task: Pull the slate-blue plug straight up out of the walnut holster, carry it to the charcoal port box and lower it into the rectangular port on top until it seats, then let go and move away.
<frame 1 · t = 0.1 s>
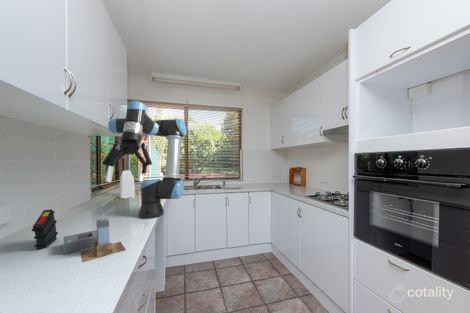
hand: (124, 181, 84), 28 cm above the countertop, tool tilted 20°, fingers open, 13 cm apart
holster: (103, 253, 81), on the countertop
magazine: (45, 246, 90), on the countertop
port box: (85, 247, 87), on the countertop
plug: (103, 250, 81), point 1 cm above the countertop, touching holster
milk: (127, 197, 201), on the countertop
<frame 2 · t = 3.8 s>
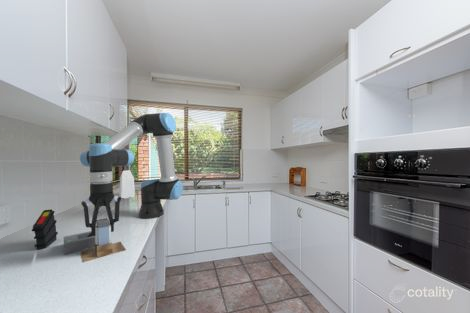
hand: (103, 241, 81), 5 cm above the countertop, tool pointing down, fingers closed on plug, 4 cm apart
plug: (103, 250, 81), point 1 cm above the countertop, touching gripper, holster
everything else where it was.
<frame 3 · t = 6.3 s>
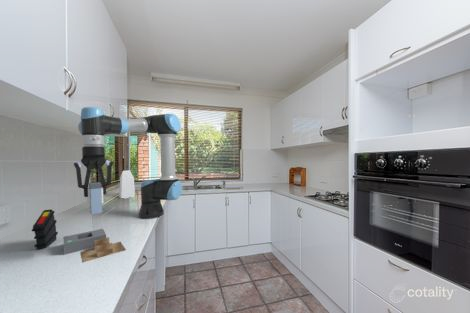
hand: (95, 203, 84), 19 cm above the countertop, tool pointing down, fingers closed on plug, 4 cm apart
plug: (95, 212, 84), point 16 cm above the countertop, touching gripper
everything else where it was.
when the fingers open (6 cm above the countertop, at t = 9.2 s): plug drops 1 cm, resting on port box.
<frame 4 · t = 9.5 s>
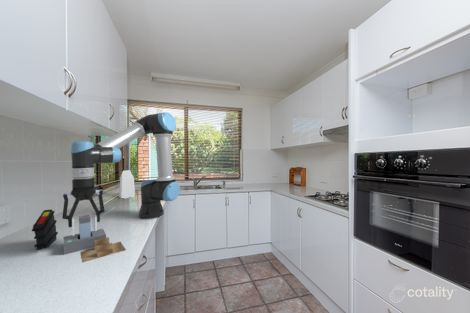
hand: (84, 232, 87), 7 cm above the countertop, tool pointing down, fingers open, 7 cm apart
plug: (85, 245, 87), point 1 cm above the countertop, touching port box
everything else where it was.
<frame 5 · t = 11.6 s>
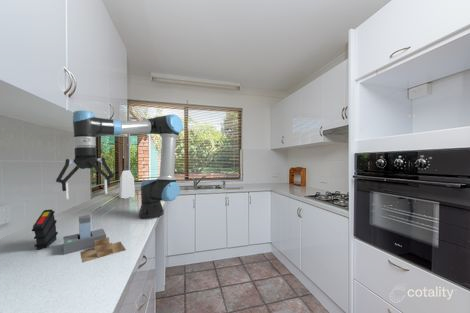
hand: (87, 196, 89), 21 cm above the countertop, tool pointing down, fingers open, 13 cm apart
nothing on the countertop moved.
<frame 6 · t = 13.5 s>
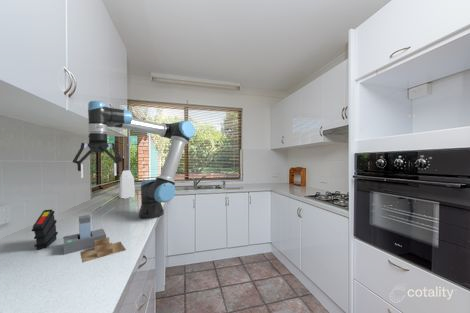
hand: (99, 176, 101), 29 cm above the countertop, tool pointing down, fingers open, 13 cm apart
nothing on the countertop moved.
at the end: plug 0.0 cm off-centre on the port box, point 1.0 cm above the port box's base; plug tilted 0°; the gripper is holding nothing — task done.
